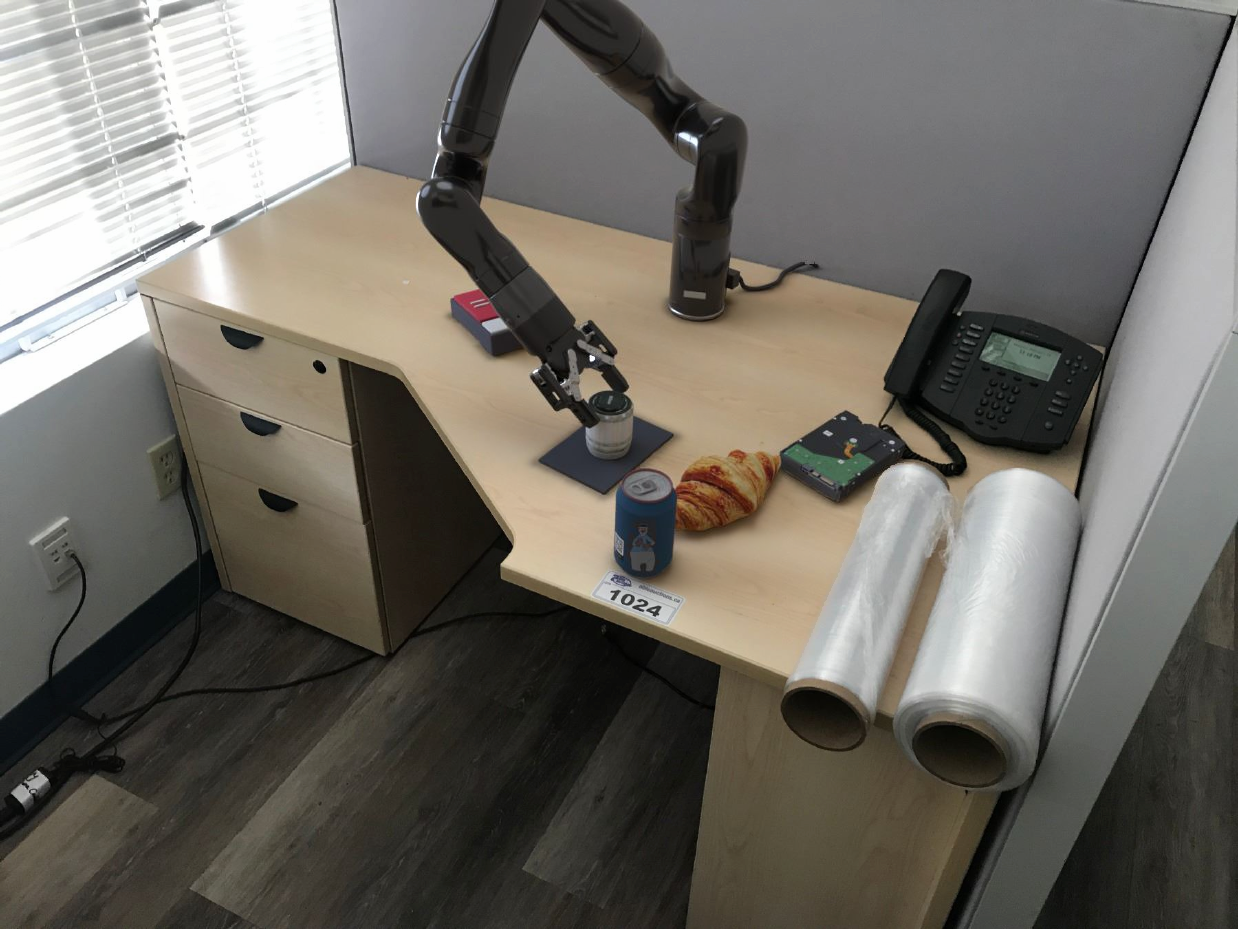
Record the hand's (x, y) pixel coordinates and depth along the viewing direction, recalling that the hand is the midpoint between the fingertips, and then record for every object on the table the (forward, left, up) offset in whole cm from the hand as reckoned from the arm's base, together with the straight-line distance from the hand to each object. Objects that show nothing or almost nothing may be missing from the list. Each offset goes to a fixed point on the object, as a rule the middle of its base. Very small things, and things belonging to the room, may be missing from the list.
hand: (610, 408), depth 130 cm
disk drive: (-17, +26, -7) cm, 32 cm away
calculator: (-15, -33, -7) cm, 37 cm away
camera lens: (0, 0, -7) cm, 7 cm away
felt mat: (0, 0, -7) cm, 7 cm away
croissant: (0, +18, -7) cm, 19 cm away
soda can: (+15, +16, -7) cm, 23 cm away
